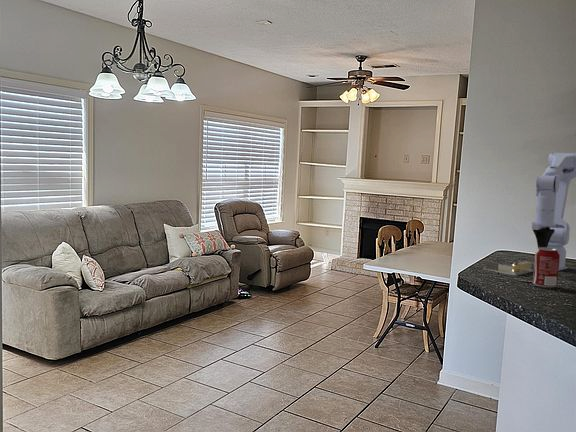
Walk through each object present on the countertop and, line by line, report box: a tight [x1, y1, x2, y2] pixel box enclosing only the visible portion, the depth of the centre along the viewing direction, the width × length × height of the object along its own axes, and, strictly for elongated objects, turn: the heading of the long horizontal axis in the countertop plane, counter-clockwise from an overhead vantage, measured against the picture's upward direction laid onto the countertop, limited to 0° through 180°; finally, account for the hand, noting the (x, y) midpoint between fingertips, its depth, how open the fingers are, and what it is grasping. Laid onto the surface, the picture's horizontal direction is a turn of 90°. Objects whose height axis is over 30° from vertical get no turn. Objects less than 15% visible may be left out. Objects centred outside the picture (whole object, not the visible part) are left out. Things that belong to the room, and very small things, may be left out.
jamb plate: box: [482, 264, 534, 277], centre depth 182 cm, size 13×12×1 cm
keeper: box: [485, 261, 510, 272], centre depth 181 cm, size 4×7×2 cm, turn 41°
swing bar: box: [511, 260, 532, 272], centre depth 179 cm, size 11×2×3 cm, turn 131°
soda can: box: [532, 246, 560, 289], centre depth 158 cm, size 7×7×12 cm
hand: (542, 249), depth 176 cm, fingers closed
